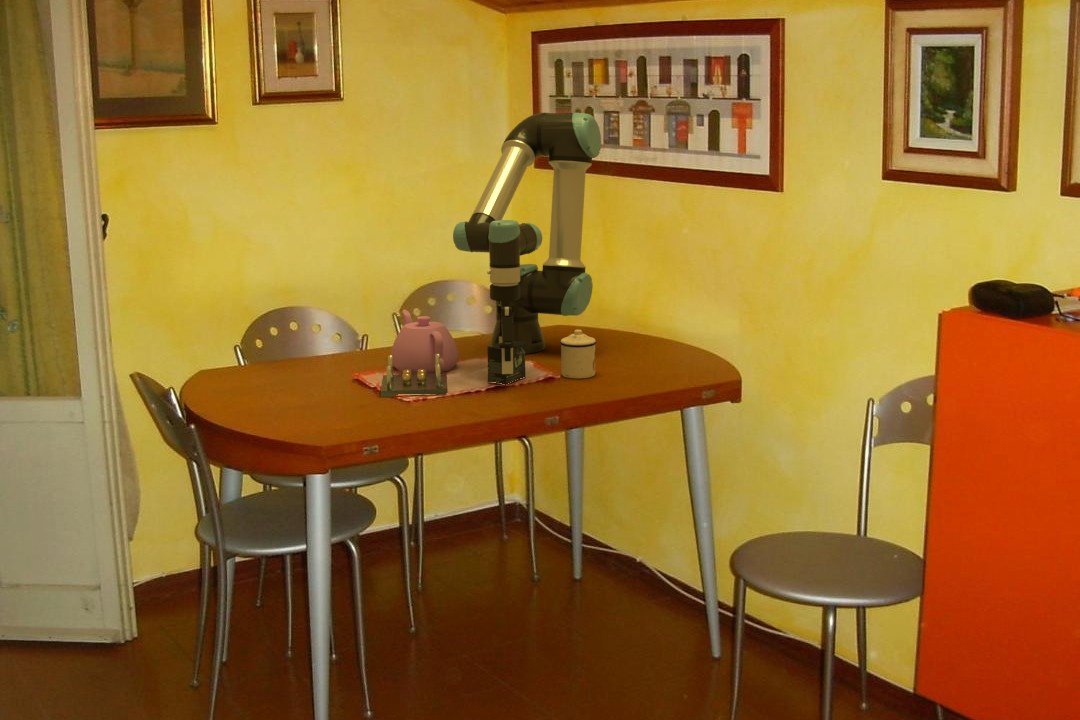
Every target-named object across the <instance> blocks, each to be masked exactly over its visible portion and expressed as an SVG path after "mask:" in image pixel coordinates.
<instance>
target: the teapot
mask: <svg viewBox="0 0 1080 720" xmlns="http://www.w3.org/2000/svg"><path fill="white" fill-rule="evenodd" d="M402 316H403V326H402V327H401V329H400V330H399V332H398V334H397V335H396V337H395V339H394V341H393V345H392V347H391V352H390V355H393V368H395V369H396V370H398V371H399V372H400V373H403V370H411V374H417V373H418V370H419V369H425V370H426V374H435V373H436V367H435V365H436V360H435V354H437V353H439V354H440V366H441V373H447V372H448V371H451V370H452V369H453V368H454V367H455V366H456V365H457V363H458V361H459V359H460V356H459V350H458V348H457V343H456V341H455V339H454V337H453V336H452V334H451V332H450V331H449V329H448V328H447V326H445V324H443V323H442V322H439V321H430V320H431V317H430V316H427V315H421V316H417V317H416V321H414V322H413V318H412V316H411V313H410V311H408V310H407V309H403V310H402Z"/></svg>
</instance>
